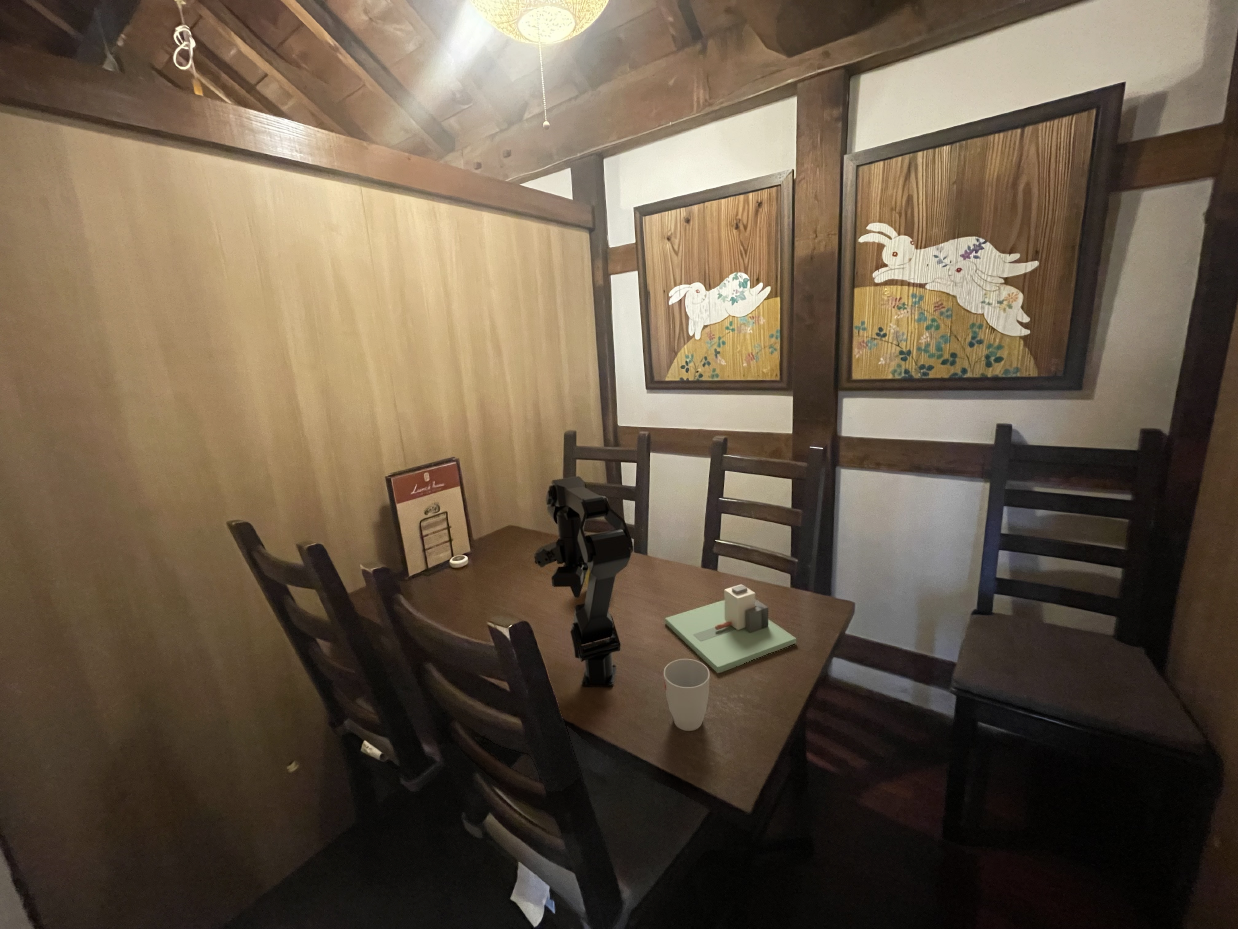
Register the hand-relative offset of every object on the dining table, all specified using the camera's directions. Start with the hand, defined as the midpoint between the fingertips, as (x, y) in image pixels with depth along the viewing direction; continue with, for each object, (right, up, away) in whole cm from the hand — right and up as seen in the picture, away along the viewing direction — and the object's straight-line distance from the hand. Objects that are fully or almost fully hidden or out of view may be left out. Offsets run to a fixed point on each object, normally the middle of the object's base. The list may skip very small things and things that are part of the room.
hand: (577, 596), depth 114 cm
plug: (+36, -7, +3) cm, 37 cm away
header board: (+35, -9, +3) cm, 36 cm away
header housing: (+40, -7, +5) cm, 41 cm away
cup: (+22, -17, -23) cm, 36 cm away
